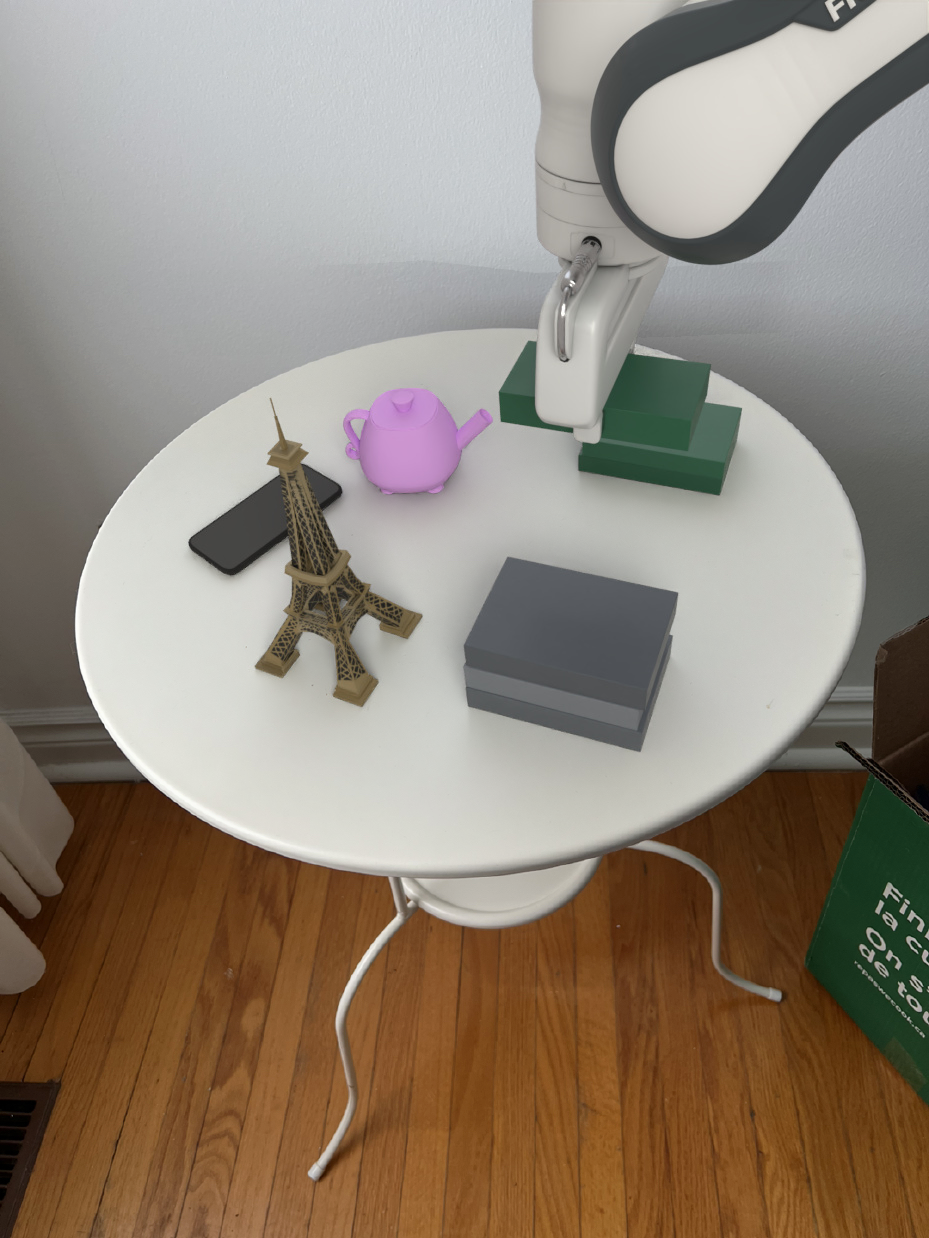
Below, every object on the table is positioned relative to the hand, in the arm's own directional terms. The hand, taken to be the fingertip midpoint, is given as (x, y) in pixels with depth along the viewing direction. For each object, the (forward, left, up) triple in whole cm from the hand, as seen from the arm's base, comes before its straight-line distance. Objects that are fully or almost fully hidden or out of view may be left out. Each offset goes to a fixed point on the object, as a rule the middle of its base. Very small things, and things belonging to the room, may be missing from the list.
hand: (604, 402), depth 64 cm
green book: (0, 0, 0) cm, 1 cm away
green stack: (0, -22, -21) cm, 30 cm away
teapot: (+22, -13, -21) cm, 33 cm away
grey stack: (0, +8, -21) cm, 23 cm away
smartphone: (+34, -2, -21) cm, 40 cm away
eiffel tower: (+20, +10, -21) cm, 31 cm away
